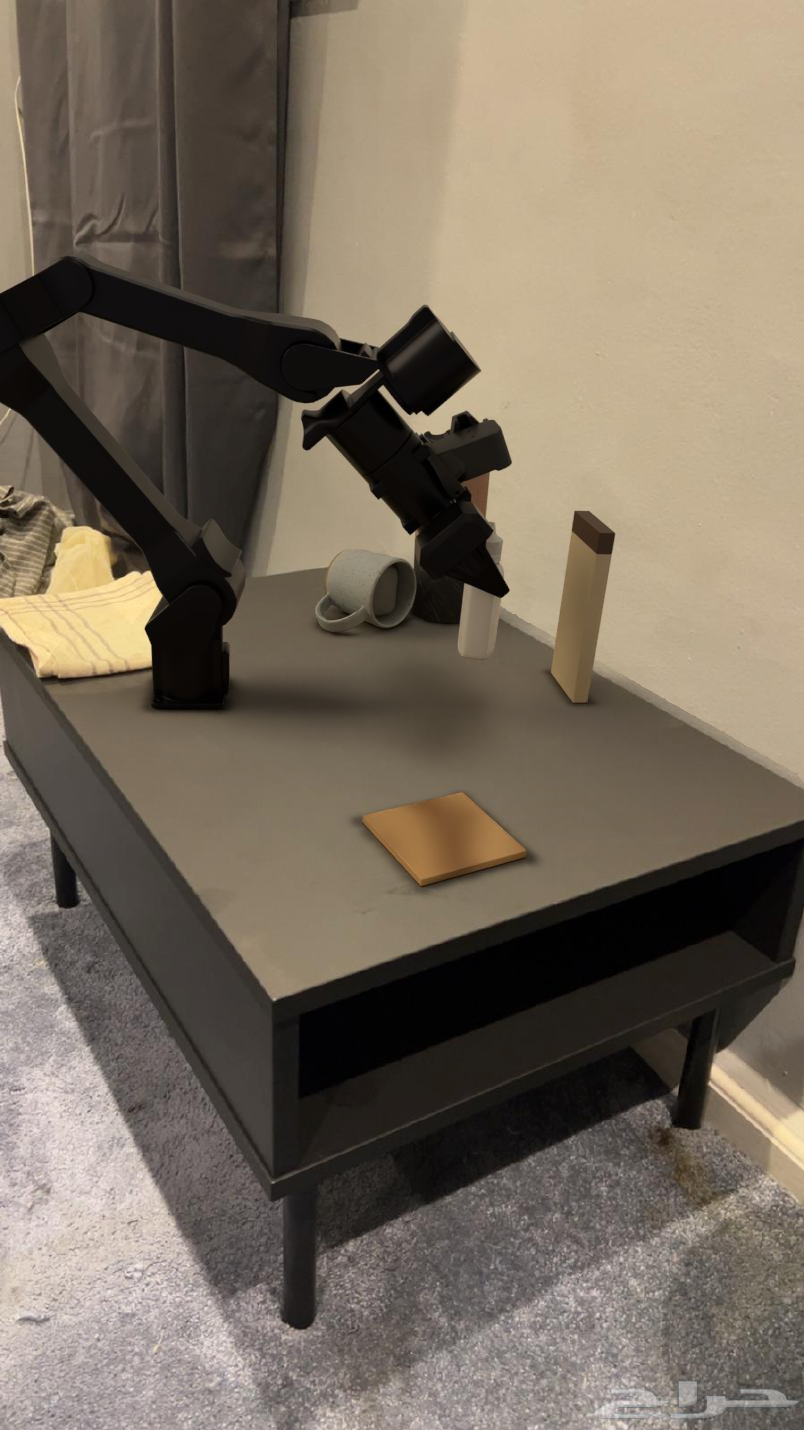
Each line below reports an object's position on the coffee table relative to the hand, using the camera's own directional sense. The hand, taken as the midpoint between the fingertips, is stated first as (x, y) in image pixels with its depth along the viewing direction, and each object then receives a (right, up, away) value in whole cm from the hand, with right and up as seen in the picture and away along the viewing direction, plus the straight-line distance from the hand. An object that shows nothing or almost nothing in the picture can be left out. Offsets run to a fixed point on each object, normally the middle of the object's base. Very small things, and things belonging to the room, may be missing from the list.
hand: (499, 582), depth 94 cm
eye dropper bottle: (-2, -6, +3) cm, 7 cm away
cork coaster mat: (-6, -21, -15) cm, 27 cm away
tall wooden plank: (+8, -9, +11) cm, 16 cm away
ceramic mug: (-13, -2, +23) cm, 26 cm away
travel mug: (-4, 0, +27) cm, 27 cm away
